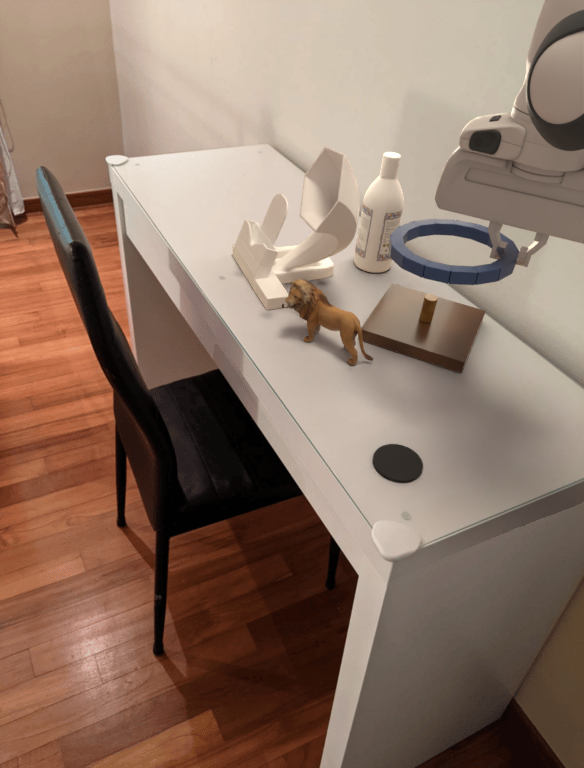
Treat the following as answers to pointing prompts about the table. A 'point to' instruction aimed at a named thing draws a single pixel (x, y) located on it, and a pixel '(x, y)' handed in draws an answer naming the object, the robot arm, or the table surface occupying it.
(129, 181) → the table surface
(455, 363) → the platform
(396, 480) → the mat
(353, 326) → the lion figurine
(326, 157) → the jewelry stand
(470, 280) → the ring
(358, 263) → the bath foam
